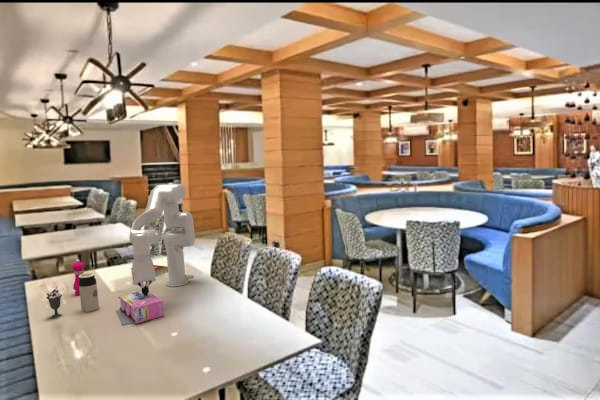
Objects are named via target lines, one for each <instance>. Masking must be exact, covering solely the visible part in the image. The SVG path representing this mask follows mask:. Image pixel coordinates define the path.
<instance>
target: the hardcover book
mask: <svg viewBox="0 0 600 400" xmlns="http://www.w3.org/2000/svg"><path fill="white" fill-rule="evenodd" d="M153 265H154V270H155V278H156V277H159V276H160V275H162V274H166V273H168V265H167V266H166V265H157V264H153ZM129 268H130V267H129ZM130 270H131V271H132V267H131V268H130Z"/></svg>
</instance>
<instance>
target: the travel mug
mask: <svg viewBox="0 0 600 400" xmlns="http://www.w3.org/2000/svg"><path fill="white" fill-rule="evenodd" d="M95 276H96V273H94V272H86V273H85V272H84V273H83V274H81V275H79V278H80V281H79V291H80V296H79V299H80V307H81V312H83V313H90V312H95V311H96V310H98V309H99V308H100V305H99V295H98V285H97V279H96V278H95Z"/></svg>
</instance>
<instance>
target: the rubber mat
mask: <svg viewBox="0 0 600 400" xmlns="http://www.w3.org/2000/svg"><path fill="white" fill-rule="evenodd" d="M115 313H116V314H117V317H118V320H119V321H120V323H121V325H122V326H126V325H132V324H135V323H134V322H133V321H132V320H131V319H129V318H128V317H127V316H126V315H125V314H123V313H122V312H121V311H120V308H119V309H116V310H115ZM131 323H132V324H131Z"/></svg>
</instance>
